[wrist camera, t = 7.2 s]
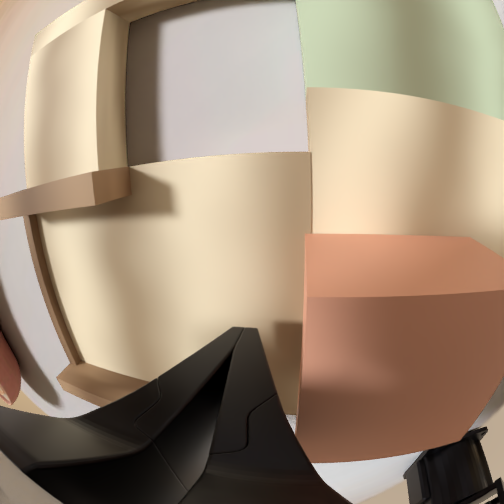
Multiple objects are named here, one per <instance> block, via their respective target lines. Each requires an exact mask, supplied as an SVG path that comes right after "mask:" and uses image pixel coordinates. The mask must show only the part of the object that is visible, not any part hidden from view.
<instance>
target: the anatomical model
mask: <svg viewBox="0 0 504 504" xmlns="http://www.w3.org/2000/svg"><path fill="white" fill-rule="evenodd" d="M20 387H21V375H20V369H19V365H18V362H17V360H16V358H15V356H14V354H13V352H12V350H11V349H10V347H9V345H8V343H7V342H6V340H5V338H4V336H3V334H2V332H1V330H0V397H1V398H2V399H3V400H4V401H5V402H6V403H7V404H9V405H12V404H13V403H14V402H15V400H16V399H17V397H18V395H19V391H20Z"/></svg>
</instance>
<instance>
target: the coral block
mask: <svg viewBox="0 0 504 504" xmlns="http://www.w3.org/2000/svg"><path fill="white" fill-rule="evenodd" d="M503 377H504V258H503V257H501V256H500V255H498V254H497V253H495V252H494V251H492V250H490V249H489V248H487V247H486V246H484V245H482V244H481V243H479V242H477V241H476V240H474V239H472V238H471V237H455V236H424V235H383V234H305V271H304V305H303V327H302V345H301V361H300V374H299V389H298V404H297V417H296V428H295V436H296V437H297V439H298V441H299V443H300V445H301V446H302V448H303V450H304V452H305V453H306V455H307V457H308V459H309V460H310V462H311V463H335V462H351V461H363V460H372V459H380V458H387V457H393V456H399V455H405V454H410V453H415V452H419V451H424V450H428V449H432V448H436V447H440V446H443V445H447V444H450V443H454V442H457V441H460V440H461V439H462V437H463V436H464V435H465V434H466V432H467V431H468V430H469V428H470V427H471V426H472V424H473V423H474V422H475V420H476V419H477V418H478V416H479V415H480V413H481V412H482V410H483V409H484V408H485V406H486V405H487V403H488V401H489V400H490V398H491V397H492V395H493V394H494V392H495V390H496V389H497V387H498V385H499V384H500V382H501V380H502V378H503Z"/></svg>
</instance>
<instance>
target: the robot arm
mask: <svg viewBox="0 0 504 504" xmlns="http://www.w3.org/2000/svg"><path fill="white" fill-rule="evenodd" d="M487 431H488V429H487V427H483V428H480V429H477V430H475V431H472V432H469V433H466V434H465V435H464V436H463V437H462V439H461V440H460V441H457V442H454V443H450V444H447V445H443V446H440V447H436V448H432V449H428V450H424V451H423V452H422V454H421V455H420V456H419V457H418V459H417V460H416V461H415V462H414V463H413V464H412V466H411V467H410V468H409V469H408V470H407V471H406V472H405V473H404V475H403V477H404V479H407V486H408V494H409V503H410V504H479V503H481V502H483V501H485V500H486V499H488V498H489V497H491V496H493V495H494V494H496V493H497V494H498V497H496V498H495V499H493V500H491V501H488V502H487V503H485V504H504V482H503V481H502V479H501V478H499V479H497V480H496V481H495V482H494V483H493V481H492V477H491V474H490V470H489V467H488V464H487V461H486V457H485V455H484V452H483V449H482V446H481V443H480V440H481V439H482V438H483V436H484V435H485V434H486V433H487ZM0 504H352V503H351V502H349V501H348V500H347V499H345V498H344V497H343V496H341V495H340V494H339V493H337V492H336V491H335V490H333V489H332V488H331V487H330V486H328V485H327V484H326V483H325V482H324V481H323V479H322V478H321V477H320V476H319V474H318V473H317V472H316V470H315V469H314V467H313V465H312V464H311V462H310V460H309V459H308V457H307V455H306V453H305V452H304V450H303V448H302V446H301V445H300V443H299V441H298V439H297V437H296V436H295V434H294V432H293V430H292V428H291V426H290V424H289V422H288V420H287V418H286V415H285V412H284V410H283V407H282V404H281V401H280V398H279V396H278V392H277V389H276V386H275V383H274V380H273V376H272V373H271V370H270V367H269V364H268V360H267V357H266V354H265V351H264V347H263V344H262V341H261V338H260V334H259V331H258V329H257V328H251V327H235V326H233V327H231V328H230V329H228V330H227V331H226V332H224V333H223V334H221V335H220V336H218V337H217V338H215V339H214V340H213V341H211V342H210V343H208V344H207V345H205V346H204V347H202V348H201V349H199V350H198V351H196V352H195V353H193V354H192V355H190V356H189V357H187V358H186V359H184V360H183V361H181V362H180V363H178V364H177V365H175V366H174V367H172V368H171V369H169V370H168V371H166V372H165V373H163V374H161V375H160V376H158V379H157V378H155V379H153V380H152V381H150V382H149V383H147V384H145V385H144V386H142V387H140V388H139V389H137V390H135V391H133V392H132V393H130V394H128V395H126V396H124V397H122V398H120V399H118V400H116V401H113V402H111V403H109V404H107V405H105V406H103V407H100V408H98V409H96V410H94V411H91V412H89V413H87V414H84V415H82V416H78V417H74V418H57V417H50V416H44V415H39V414H33V413H28V412H23V411H19V410H15V409H10V408H6V407H3V406H0Z"/></svg>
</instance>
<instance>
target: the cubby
mask: <svg viewBox="0 0 504 504" xmlns="http://www.w3.org/2000/svg"><path fill="white" fill-rule="evenodd" d="M129 195H132V192H131V182H130V171H129V167H122V168H114V169H107V170H100V171H93V172H88V173H84V174H80V175H76V176H71V177H67V178H64V179H60V180H56V181H52V182H49V183H45V184H42V185H38V186H35V187H32V188H28V189H25V190H22V191H19V192H16V193H13V194H10V195H7V196H4V197H1V198H0V220H4V219H9V218H15V217H20V216H23V218H24V223H25V229H26V234H27V239H28V243H29V248H30V252H31V256H32V260H33V264H34V268H35V271H36V275H37V278H38V282H39V285H40V288H41V291H42V295H43V298H44V301H45V303H46V306H47V309H48V312H49V314H50V317H51V320H52V322H53V325H54V327H55V330H56V332H57V335H58V337H59V339H60V342H61V344H62V346H63V348H64V351H65V353H66V355H67V357H68V359H69V361H70V364H69V365H68V366H67V367H66V368H65V369H64V370H63V371H62V372H61V373H60V374H59V375H58V376H57V377H56V378H57V380H58V381H59V383H60V385H61V387H62V388H63V390H65V391H67V392H69V393H71V394H73V395H75V396H77V397H79V398H81V399H84V400H86V401H88V402H90V403H93V404H95V405H97V406H100V407H103V406H105V405H107V404H109V403H111V402H113V401H116V400H118V399H120V398H122V397H124V396H126V395H128V394H130V393H132V392H133V391H135V390H137V389H139V388H140V387H142V386H144V385H145V384H147V383H149V381H145V380H141V379H138V378H134V377H130V376H127V375H123V374H120V373H116V372H113V371H110V370H107V369H104V368H101V367H98V366H95V365H92V364H89V363H86V362H83V361H81V359H80V357H79V355H78V352H77V350H76V348H75V346H74V343H73V341H72V339H71V336H70V334H69V331H68V329H67V326H66V323H65V321H64V318H63V315H62V313H61V310H60V307H59V304H58V301H57V298H56V295H55V292H54V289H53V285H52V282H51V279H50V275H49V271H48V268H47V264H46V260H45V256H44V252H43V247H42V243H41V238H40V233H39V228H38V222H37V216H36V214H38V213H44V212H51V211H57V210H64V209H72V208H79V207H87V206H95V205H98V204H102V203H105V202H108V201H112V200H115V199H118V198H122V197H125V196H129Z"/></svg>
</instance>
